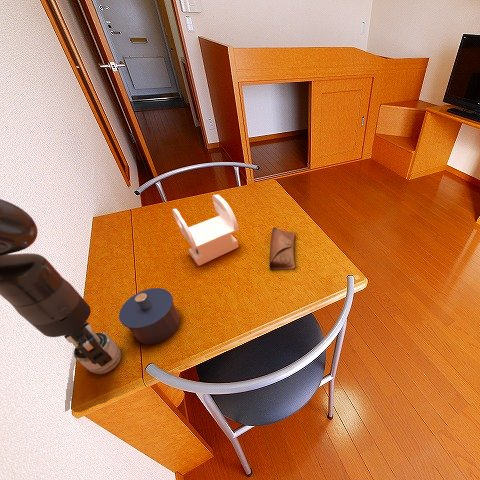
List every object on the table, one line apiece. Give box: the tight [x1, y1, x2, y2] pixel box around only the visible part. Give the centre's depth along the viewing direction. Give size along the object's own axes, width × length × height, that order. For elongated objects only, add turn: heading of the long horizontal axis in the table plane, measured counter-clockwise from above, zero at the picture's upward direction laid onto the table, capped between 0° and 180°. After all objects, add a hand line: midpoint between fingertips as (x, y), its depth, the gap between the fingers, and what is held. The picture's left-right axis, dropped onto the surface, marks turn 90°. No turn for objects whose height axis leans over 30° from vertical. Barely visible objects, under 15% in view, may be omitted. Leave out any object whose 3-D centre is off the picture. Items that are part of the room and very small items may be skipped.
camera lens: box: [73, 332, 122, 375], centre depth 60 cm, size 6×6×8 cm
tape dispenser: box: [171, 193, 240, 267], centre depth 86 cm, size 14×13×18 cm
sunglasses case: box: [268, 226, 296, 271], centre depth 92 cm, size 18×7×7 cm
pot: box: [128, 302, 181, 345], centre depth 67 cm, size 10×10×8 cm
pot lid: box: [118, 287, 174, 329], centre depth 64 cm, size 11×11×5 cm
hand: (98, 350), depth 59 cm, fingers open, 8 cm apart
